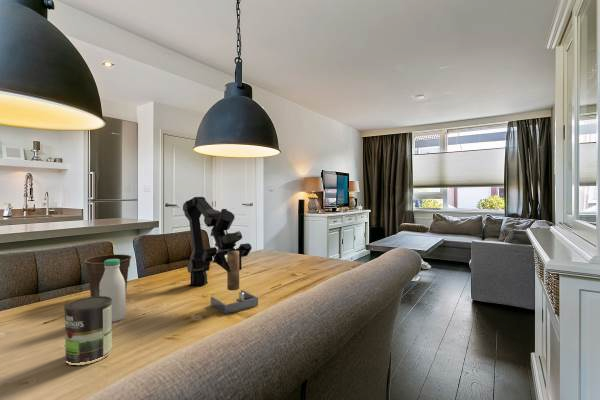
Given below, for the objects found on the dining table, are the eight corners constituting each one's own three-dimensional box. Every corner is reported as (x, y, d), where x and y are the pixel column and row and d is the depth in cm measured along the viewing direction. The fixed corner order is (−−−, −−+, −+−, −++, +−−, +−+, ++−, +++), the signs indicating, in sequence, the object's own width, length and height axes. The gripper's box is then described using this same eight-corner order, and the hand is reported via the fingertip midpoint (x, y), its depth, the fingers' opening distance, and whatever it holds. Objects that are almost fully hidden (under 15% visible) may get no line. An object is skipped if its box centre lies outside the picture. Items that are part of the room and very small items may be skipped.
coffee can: (83, 370, 75) (82, 311, 75) (55, 361, 79) (54, 306, 79) (121, 350, 85) (121, 298, 85) (95, 343, 89) (94, 294, 88)
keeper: (210, 305, 119) (210, 289, 118) (242, 297, 127) (242, 282, 127) (225, 314, 109) (225, 297, 109) (258, 305, 118) (258, 290, 118)
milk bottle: (131, 315, 108) (130, 258, 108) (111, 324, 101) (110, 263, 101) (114, 313, 111) (113, 256, 110) (93, 321, 104) (92, 261, 103)
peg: (227, 290, 116) (226, 253, 116) (227, 287, 120) (227, 250, 120) (239, 290, 117) (239, 252, 116) (239, 286, 121) (239, 250, 121)
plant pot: (138, 297, 128) (137, 258, 127) (91, 308, 116) (90, 264, 115) (124, 289, 139) (123, 252, 138) (80, 298, 127) (79, 258, 127)
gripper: (204, 226, 115) (218, 261, 107) (249, 223, 127) (264, 254, 119) (196, 245, 121) (208, 279, 113) (240, 240, 133) (253, 271, 125)
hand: (235, 270), depth 117 cm, fingers closed on peg, 4 cm apart
